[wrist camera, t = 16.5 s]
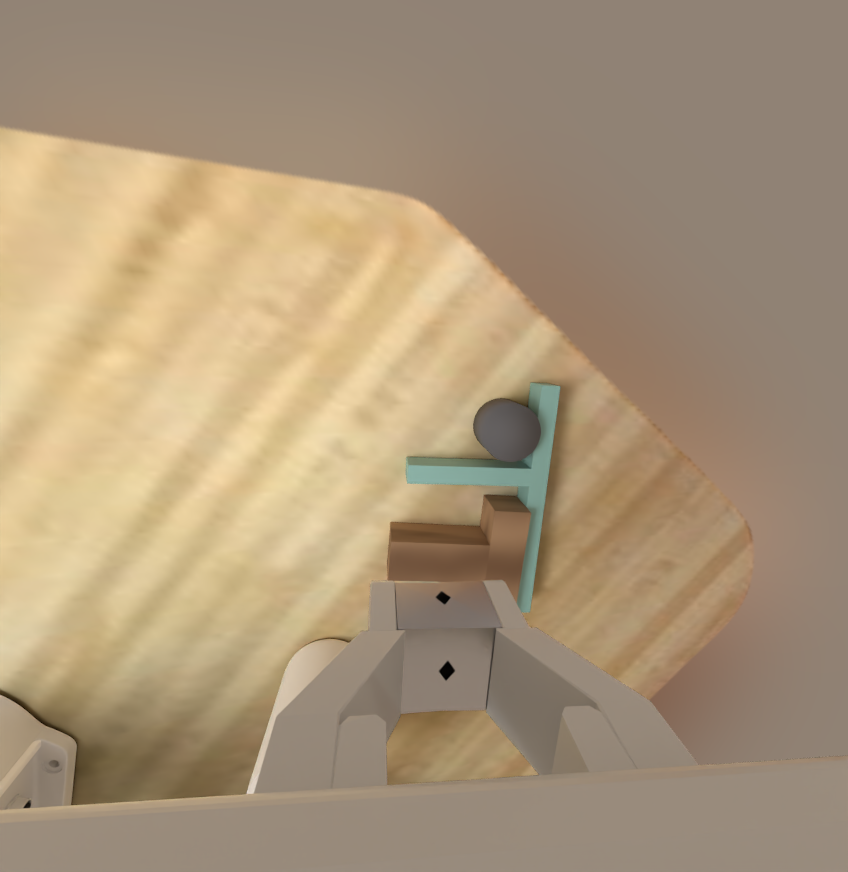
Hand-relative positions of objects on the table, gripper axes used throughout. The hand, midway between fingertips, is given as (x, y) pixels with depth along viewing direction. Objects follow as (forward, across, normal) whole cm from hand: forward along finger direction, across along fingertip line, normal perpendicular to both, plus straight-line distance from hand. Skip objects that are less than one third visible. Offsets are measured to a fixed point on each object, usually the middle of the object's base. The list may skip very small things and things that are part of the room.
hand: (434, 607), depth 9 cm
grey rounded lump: (+24, -9, 0) cm, 26 cm away
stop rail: (+24, -7, +6) cm, 26 cm away
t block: (+24, -5, +11) cm, 27 cm away
